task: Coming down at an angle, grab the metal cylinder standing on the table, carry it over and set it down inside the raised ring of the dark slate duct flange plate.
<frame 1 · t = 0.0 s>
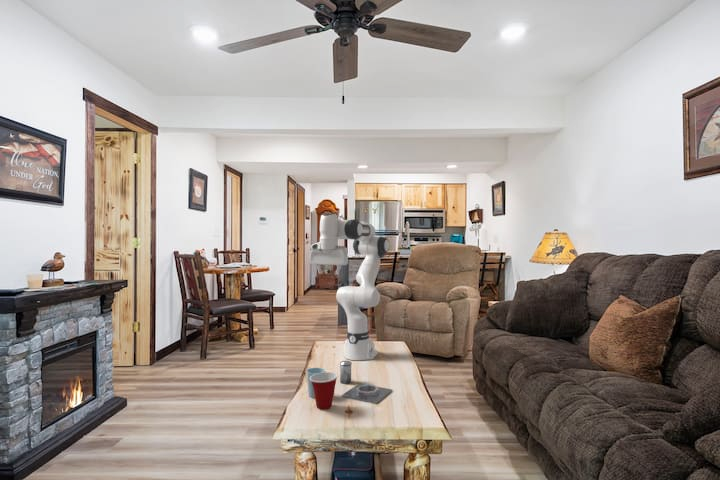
hand: (328, 274, 196), 48 cm above the table, tool pointing down, fingers open, 8 cm apart
metal cylinder: (345, 382, 183), on the table
plastic cup: (323, 407, 155), on the table
duct flange: (367, 393, 169), on the table
cup: (315, 396, 166), on the table
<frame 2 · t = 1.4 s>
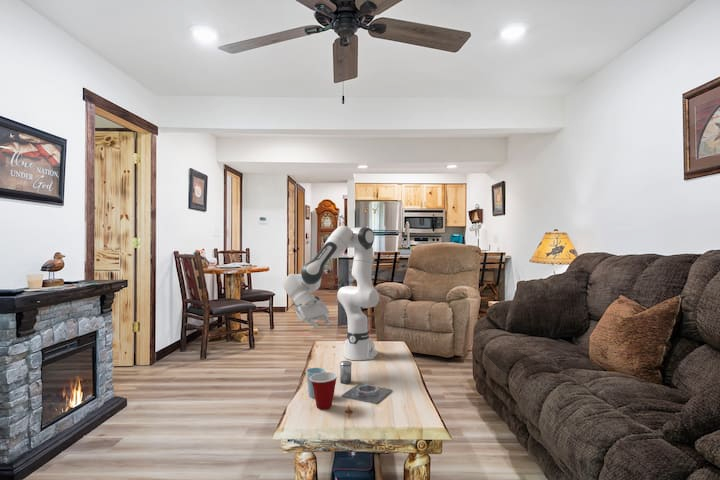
hand: (322, 325, 189), 24 cm above the table, tool tilted 45°, fingers open, 8 cm apart
nothing on the table moved.
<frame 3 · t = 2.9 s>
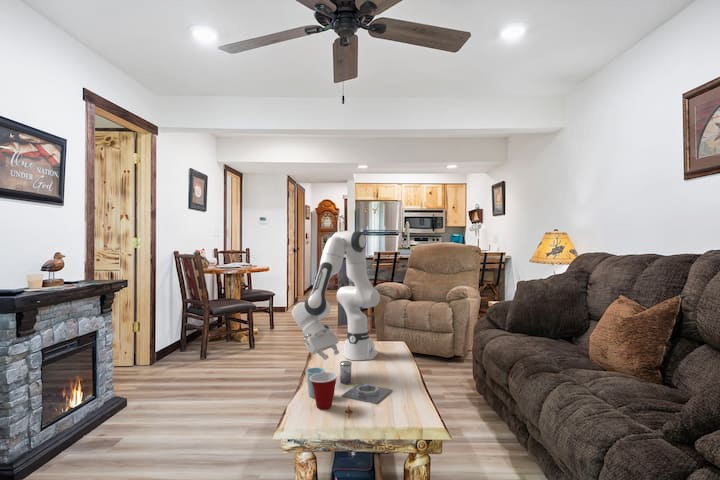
hand: (332, 356, 186), 11 cm above the table, tool tilted 45°, fingers open, 8 cm apart
nothing on the table moved.
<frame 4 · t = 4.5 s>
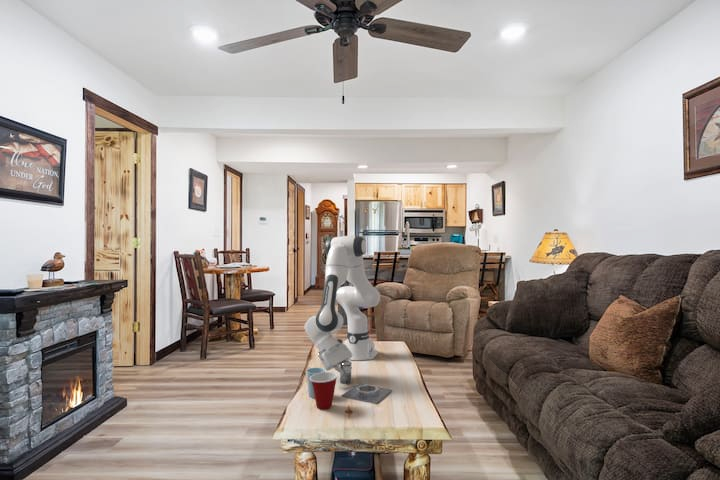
hand: (347, 371, 182), 5 cm above the table, tool tilted 45°, fingers closed on metal cylinder, 5 cm apart
metal cylinder: (345, 382, 183), on the table, touching gripper
everything else where it was.
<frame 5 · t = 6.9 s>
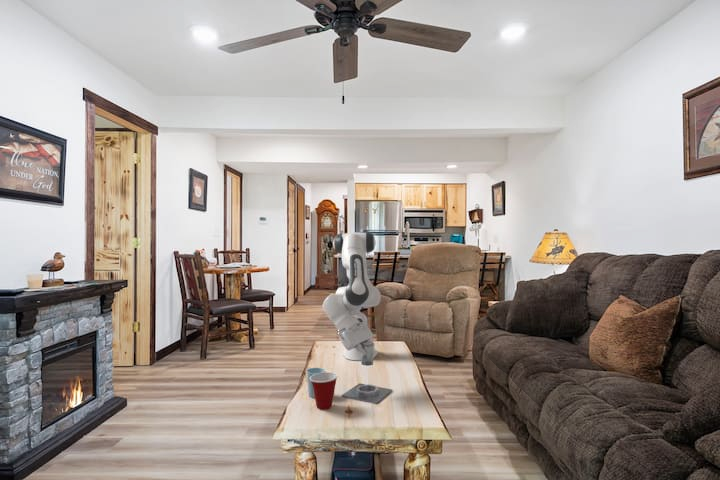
hand: (368, 352, 169), 17 cm above the table, tool tilted 45°, fingers closed on metal cylinder, 5 cm apart
metal cylinder: (367, 363, 169), point 13 cm above the table, touching gripper
everything else where it was.
when the fingers open (7 cm above the table, at t = 9.3 s): metal cylinder drops 1 cm, resting on duct flange.
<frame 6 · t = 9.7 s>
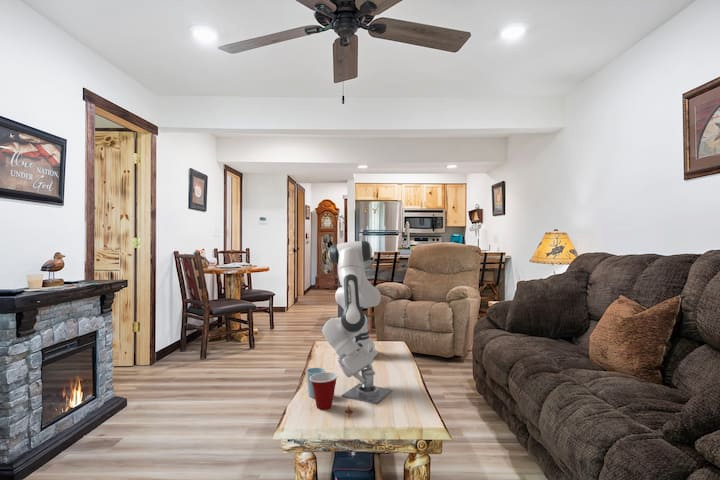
hand: (368, 378, 168), 7 cm above the table, tool tilted 45°, fingers open, 8 cm apart
metal cylinder: (367, 392, 169), point 1 cm above the table, touching duct flange
everything else where it was.
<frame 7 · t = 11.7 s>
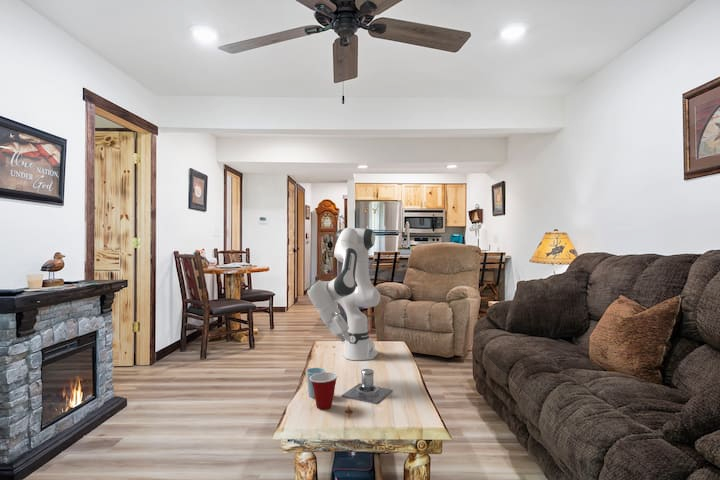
hand: (346, 341, 180), 19 cm above the table, tool tilted 30°, fingers open, 8 cm apart
nothing on the table moved.
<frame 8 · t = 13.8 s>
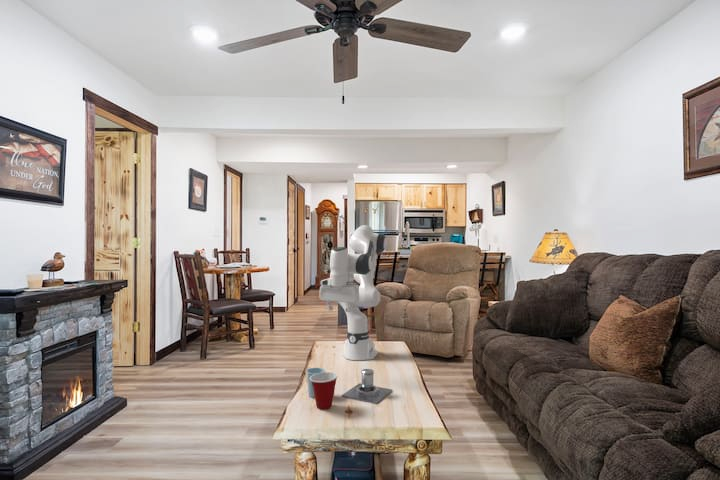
hand: (339, 311, 189), 31 cm above the table, tool pointing down, fingers open, 8 cm apart
nothing on the table moved.
at the end: metal cylinder 0.1 cm off-centre on the duct flange, point 0.6 cm above the duct flange's base; metal cylinder tilted 0°; the gripper is holding nothing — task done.
